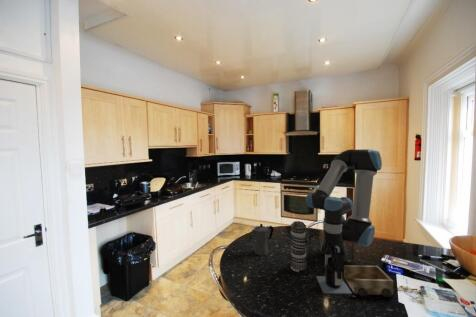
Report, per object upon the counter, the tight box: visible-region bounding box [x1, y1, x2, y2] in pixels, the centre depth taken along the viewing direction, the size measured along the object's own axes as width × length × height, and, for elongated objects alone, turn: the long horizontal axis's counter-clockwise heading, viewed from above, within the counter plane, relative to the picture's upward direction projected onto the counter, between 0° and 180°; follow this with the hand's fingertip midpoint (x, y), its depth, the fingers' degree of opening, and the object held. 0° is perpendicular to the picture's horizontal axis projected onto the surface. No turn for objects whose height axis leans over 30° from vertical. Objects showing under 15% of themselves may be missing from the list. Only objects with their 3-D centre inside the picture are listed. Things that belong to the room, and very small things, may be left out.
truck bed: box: [343, 264, 394, 298], centre depth 102 cm, size 16×15×7 cm
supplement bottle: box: [324, 257, 341, 288], centre depth 103 cm, size 7×7×12 cm
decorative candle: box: [289, 220, 308, 273], centre depth 119 cm, size 9×9×25 cm
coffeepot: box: [251, 223, 275, 256], centre depth 138 cm, size 15×9×18 cm, turn 113°
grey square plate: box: [315, 275, 353, 295], centre depth 104 cm, size 1×12×12 cm
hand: (332, 275), depth 103 cm, fingers open, 13 cm apart
